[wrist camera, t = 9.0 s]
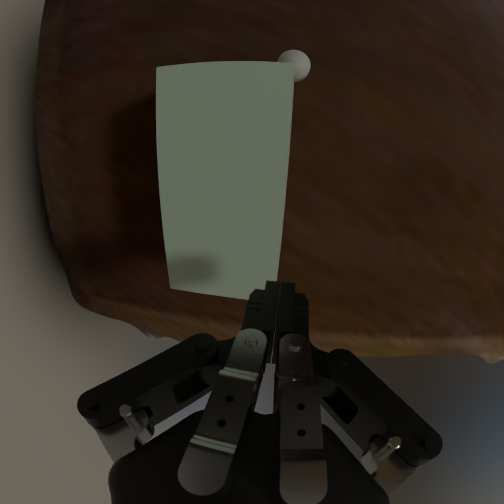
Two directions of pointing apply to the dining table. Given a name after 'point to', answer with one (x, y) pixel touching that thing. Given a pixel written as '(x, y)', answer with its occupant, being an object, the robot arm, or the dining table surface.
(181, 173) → the cover
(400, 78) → the dining table surface
